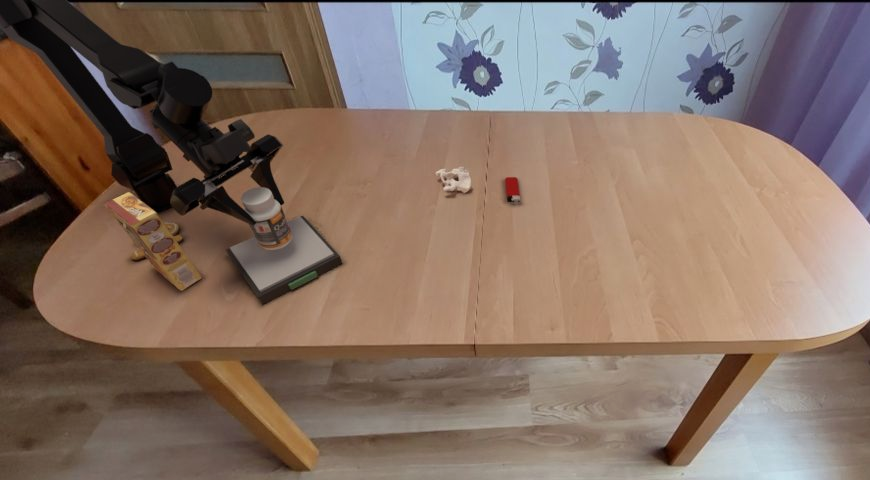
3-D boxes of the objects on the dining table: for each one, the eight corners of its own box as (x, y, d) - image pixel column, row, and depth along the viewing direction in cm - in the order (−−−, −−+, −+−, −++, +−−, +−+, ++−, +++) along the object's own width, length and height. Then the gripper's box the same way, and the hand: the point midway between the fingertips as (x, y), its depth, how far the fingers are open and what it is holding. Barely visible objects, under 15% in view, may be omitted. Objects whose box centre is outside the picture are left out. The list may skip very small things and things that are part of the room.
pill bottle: (291, 249, 81) (272, 205, 74) (256, 253, 80) (233, 208, 73) (295, 228, 85) (277, 183, 78) (261, 231, 84) (240, 186, 77)
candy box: (203, 278, 83) (158, 211, 71) (180, 292, 80) (130, 225, 69) (176, 257, 86) (129, 190, 75) (153, 270, 84) (101, 203, 73)
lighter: (517, 177, 103) (520, 199, 98) (517, 181, 104) (520, 204, 99) (505, 177, 103) (507, 199, 98) (504, 181, 104) (507, 204, 99)
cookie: (122, 258, 84) (145, 221, 91) (125, 261, 85) (148, 225, 92) (169, 256, 85) (189, 220, 92) (172, 259, 86) (192, 223, 92)
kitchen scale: (263, 306, 79) (258, 296, 77) (229, 257, 86) (223, 247, 85) (343, 265, 86) (340, 255, 84) (305, 223, 93) (301, 213, 91)
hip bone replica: (433, 164, 102) (462, 156, 103) (436, 180, 105) (464, 172, 106) (443, 184, 96) (473, 176, 98) (446, 200, 100) (475, 192, 101)
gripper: (141, 142, 61) (233, 233, 66) (254, 86, 72) (326, 167, 77) (135, 174, 69) (218, 253, 74) (238, 119, 80) (304, 191, 85)
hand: (269, 214), depth 77 cm, fingers closed on pill bottle, 6 cm apart
